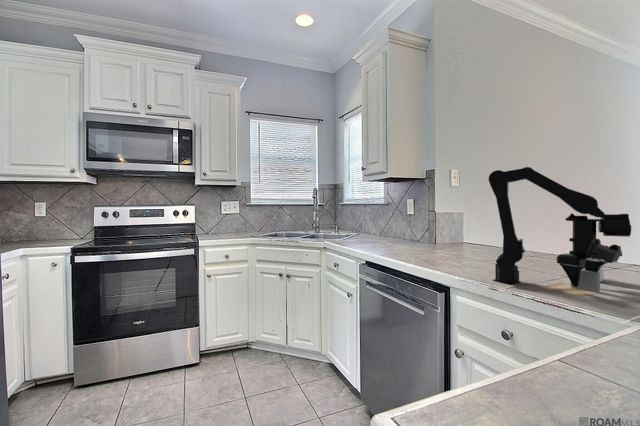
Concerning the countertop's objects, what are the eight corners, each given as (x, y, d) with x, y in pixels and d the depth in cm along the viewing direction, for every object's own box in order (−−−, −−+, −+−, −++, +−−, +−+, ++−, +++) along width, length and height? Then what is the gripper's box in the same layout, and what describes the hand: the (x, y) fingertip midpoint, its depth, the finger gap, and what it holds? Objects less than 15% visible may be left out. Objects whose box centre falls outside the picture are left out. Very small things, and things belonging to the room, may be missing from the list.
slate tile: (570, 287, 102) (570, 268, 102) (573, 286, 103) (573, 268, 103) (596, 292, 96) (597, 273, 96) (599, 292, 97) (599, 272, 97)
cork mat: (540, 288, 104) (540, 287, 104) (560, 283, 108) (560, 282, 108) (583, 298, 93) (583, 296, 93) (603, 292, 97) (603, 291, 97)
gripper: (599, 240, 88) (599, 295, 89) (632, 235, 96) (632, 286, 96) (555, 236, 98) (555, 286, 99) (589, 232, 106) (588, 279, 106)
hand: (583, 284), depth 100 cm, fingers open, 9 cm apart
